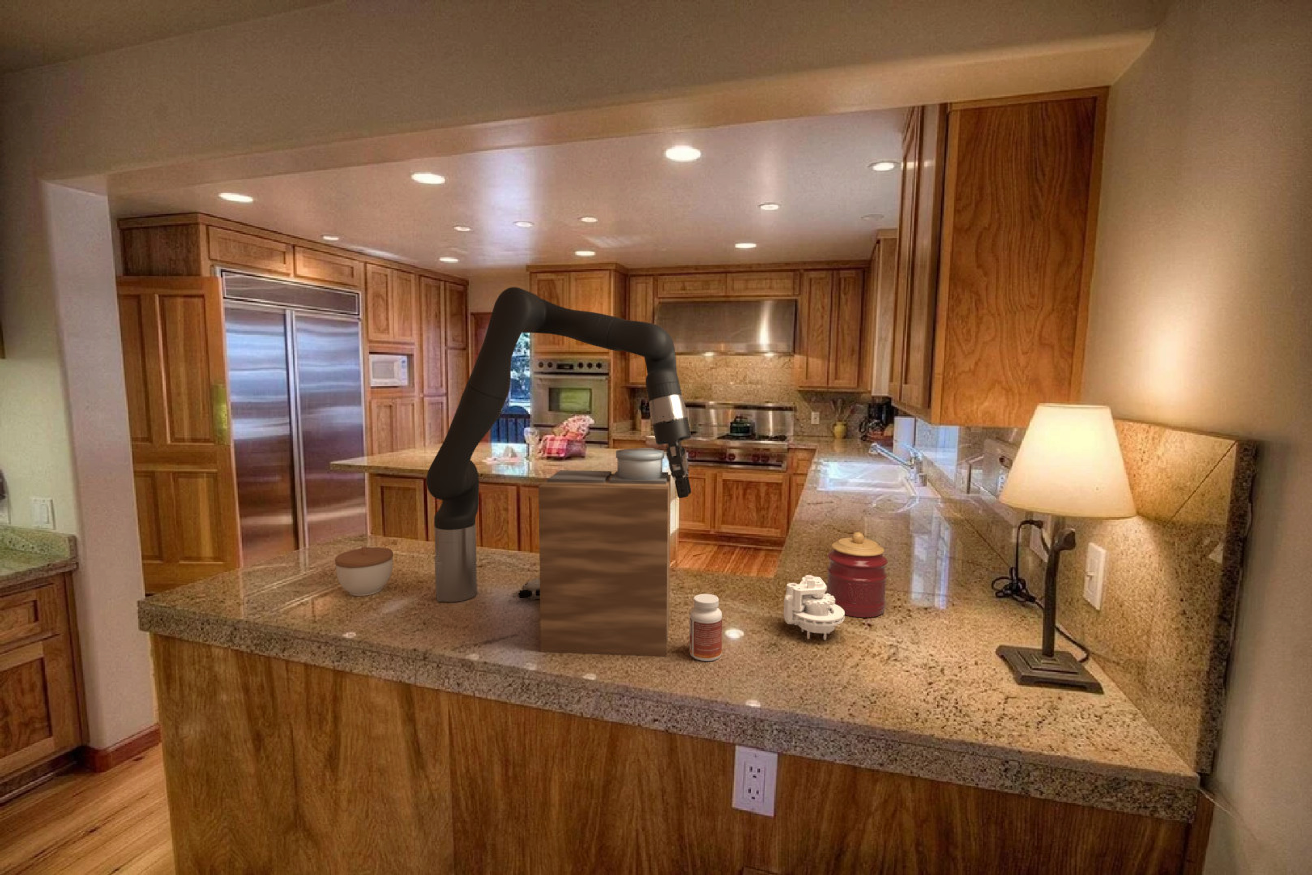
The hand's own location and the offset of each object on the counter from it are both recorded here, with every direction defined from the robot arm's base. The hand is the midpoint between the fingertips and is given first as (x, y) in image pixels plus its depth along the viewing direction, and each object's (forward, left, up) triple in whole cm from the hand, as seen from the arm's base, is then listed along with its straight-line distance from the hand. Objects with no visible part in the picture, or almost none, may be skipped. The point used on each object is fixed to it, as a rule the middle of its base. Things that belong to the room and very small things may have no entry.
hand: (685, 495), depth 118 cm
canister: (+41, -7, -28) cm, 50 cm away
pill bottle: (-2, -13, -28) cm, 31 cm away
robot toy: (-22, +26, -28) cm, 44 cm away
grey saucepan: (-7, +7, +5) cm, 11 cm away
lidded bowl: (-62, +49, -28) cm, 84 cm away
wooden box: (-16, +2, -28) cm, 32 cm away
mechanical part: (+23, -14, -28) cm, 39 cm away
